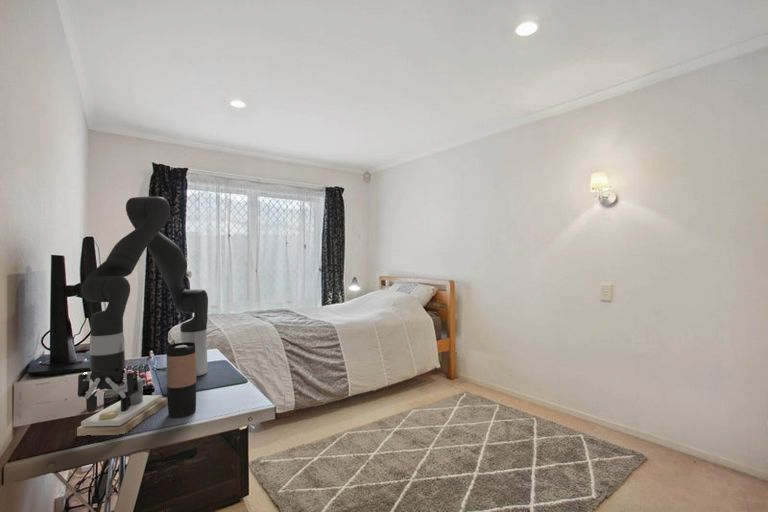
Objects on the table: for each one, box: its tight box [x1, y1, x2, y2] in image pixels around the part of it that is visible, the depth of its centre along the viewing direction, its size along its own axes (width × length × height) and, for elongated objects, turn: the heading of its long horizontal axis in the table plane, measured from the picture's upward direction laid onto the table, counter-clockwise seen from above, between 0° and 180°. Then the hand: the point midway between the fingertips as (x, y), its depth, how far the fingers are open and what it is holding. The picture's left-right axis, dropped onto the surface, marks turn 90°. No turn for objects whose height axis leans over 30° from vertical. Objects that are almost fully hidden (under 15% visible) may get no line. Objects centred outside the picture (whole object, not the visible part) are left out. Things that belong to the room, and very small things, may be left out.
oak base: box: [76, 397, 168, 437], centre depth 108 cm, size 20×12×2 cm, turn 1°
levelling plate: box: [80, 376, 163, 427], centre depth 107 cm, size 19×10×8 cm, turn 1°
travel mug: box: [166, 342, 197, 419], centre depth 111 cm, size 8×8×20 cm
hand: (108, 411), depth 101 cm, fingers open, 8 cm apart
